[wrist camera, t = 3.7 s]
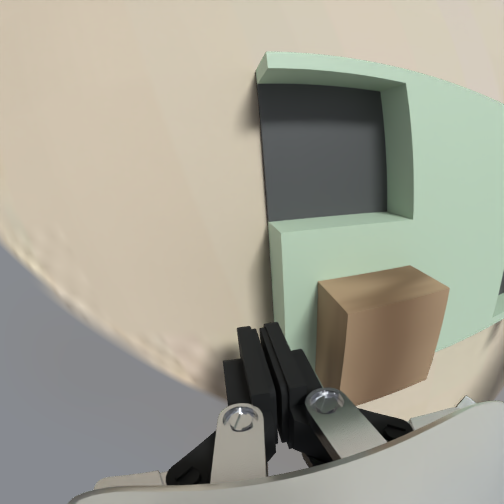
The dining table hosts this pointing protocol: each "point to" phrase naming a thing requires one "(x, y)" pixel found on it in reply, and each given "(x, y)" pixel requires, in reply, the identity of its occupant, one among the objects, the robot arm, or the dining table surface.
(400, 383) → the walnut block
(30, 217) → the dining table surface
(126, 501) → the robot arm
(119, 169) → the dining table surface
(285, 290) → the board
